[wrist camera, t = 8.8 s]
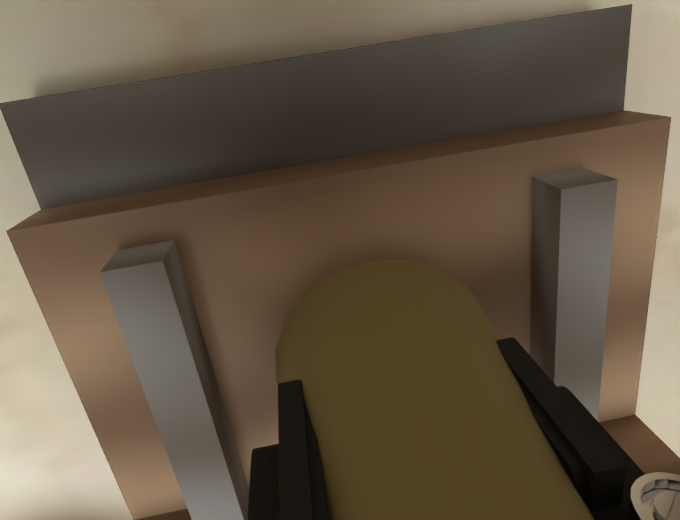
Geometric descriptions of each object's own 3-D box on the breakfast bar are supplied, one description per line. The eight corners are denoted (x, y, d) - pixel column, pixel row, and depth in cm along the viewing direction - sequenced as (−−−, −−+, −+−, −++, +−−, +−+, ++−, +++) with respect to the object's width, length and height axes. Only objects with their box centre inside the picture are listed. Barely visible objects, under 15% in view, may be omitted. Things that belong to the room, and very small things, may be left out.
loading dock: (32, 98, 15) (-176, 130, 8) (591, 10, 16) (831, -29, 9) (169, 463, 21) (117, 663, 14) (571, 381, 22) (708, 528, 15)
